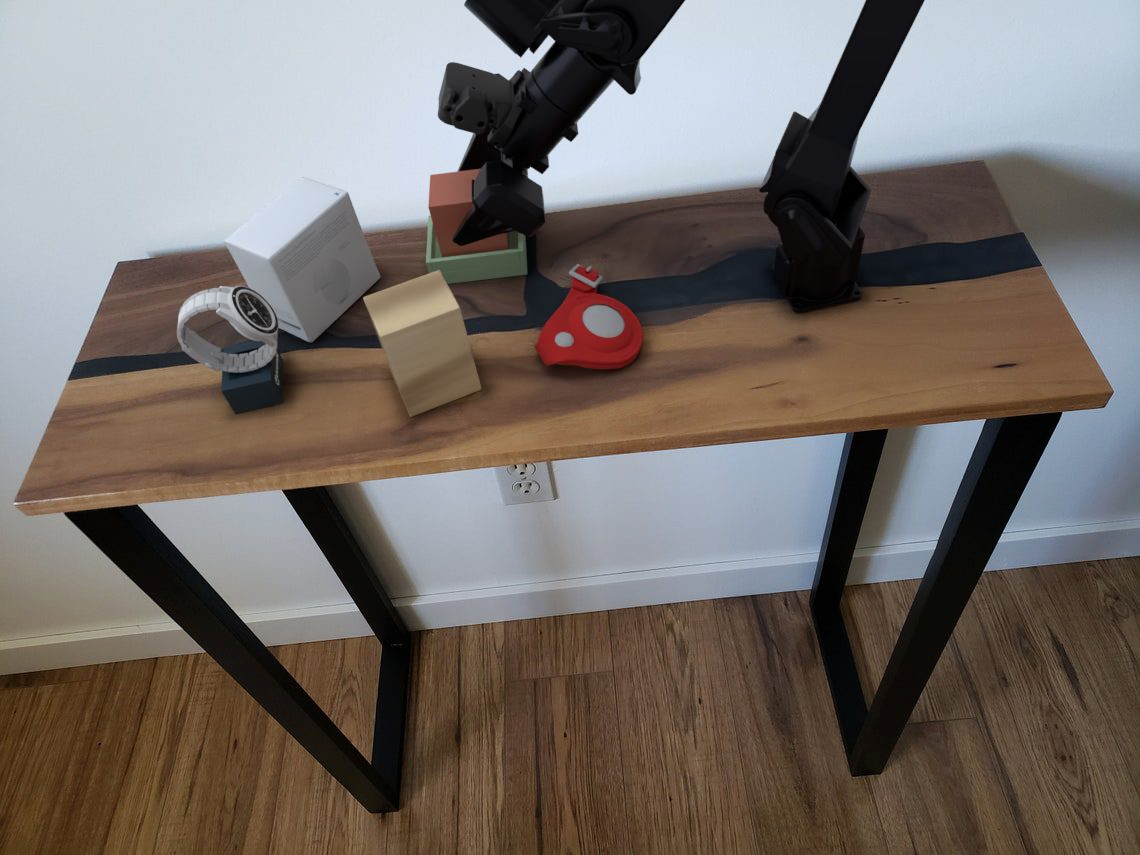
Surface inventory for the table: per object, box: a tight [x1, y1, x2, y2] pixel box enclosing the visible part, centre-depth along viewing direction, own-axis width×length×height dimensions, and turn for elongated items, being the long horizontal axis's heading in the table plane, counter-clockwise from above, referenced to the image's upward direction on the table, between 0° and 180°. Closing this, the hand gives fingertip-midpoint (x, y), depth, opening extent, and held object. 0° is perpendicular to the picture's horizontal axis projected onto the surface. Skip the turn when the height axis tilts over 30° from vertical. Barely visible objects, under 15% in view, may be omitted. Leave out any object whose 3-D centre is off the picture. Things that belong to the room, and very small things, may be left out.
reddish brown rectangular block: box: [428, 169, 509, 258], centre depth 84 cm, size 5×6×7 cm
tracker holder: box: [533, 263, 644, 370], centre depth 78 cm, size 12×4×10 cm
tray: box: [425, 215, 529, 285], centre depth 87 cm, size 10×7×3 cm
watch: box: [176, 285, 284, 415], centre depth 75 cm, size 6×8×11 cm
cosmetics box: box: [223, 176, 381, 343], centre depth 82 cm, size 10×6×10 cm, turn 147°
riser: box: [362, 270, 483, 418], centre depth 73 cm, size 5×7×10 cm
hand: (457, 212), depth 83 cm, fingers open, 9 cm apart
